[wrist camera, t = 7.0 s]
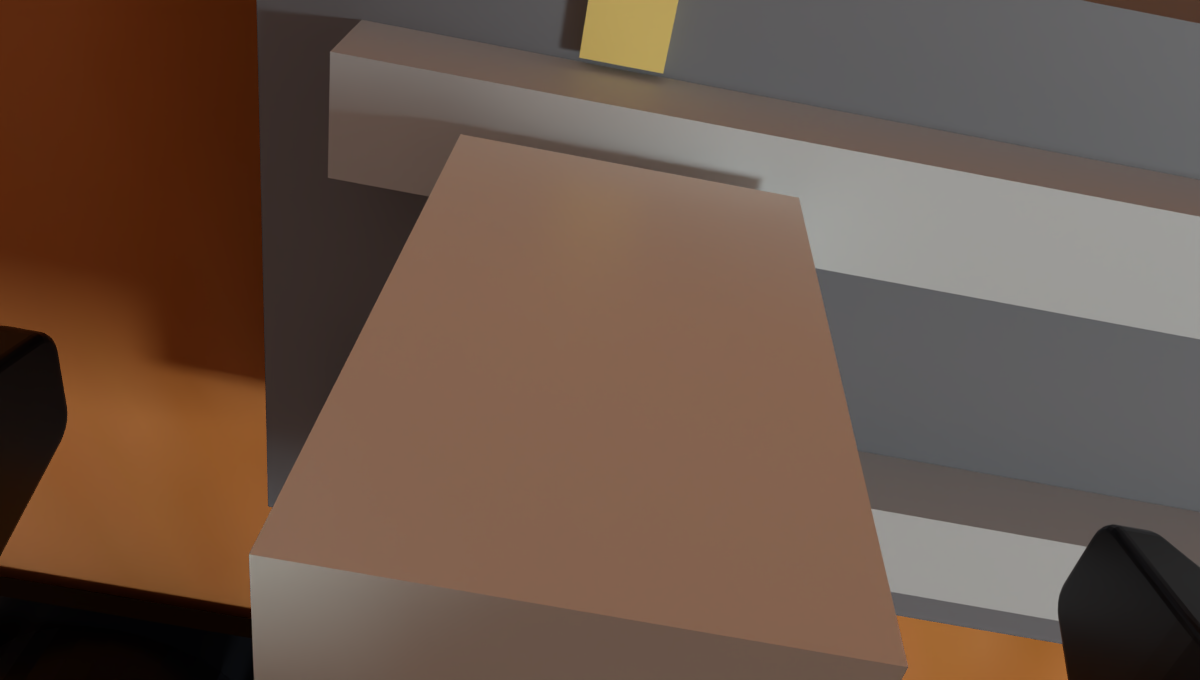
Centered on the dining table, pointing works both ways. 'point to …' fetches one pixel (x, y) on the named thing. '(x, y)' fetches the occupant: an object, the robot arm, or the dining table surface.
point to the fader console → (819, 230)
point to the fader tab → (582, 449)
